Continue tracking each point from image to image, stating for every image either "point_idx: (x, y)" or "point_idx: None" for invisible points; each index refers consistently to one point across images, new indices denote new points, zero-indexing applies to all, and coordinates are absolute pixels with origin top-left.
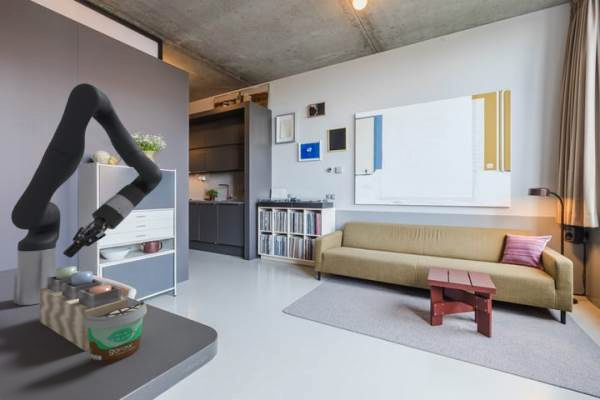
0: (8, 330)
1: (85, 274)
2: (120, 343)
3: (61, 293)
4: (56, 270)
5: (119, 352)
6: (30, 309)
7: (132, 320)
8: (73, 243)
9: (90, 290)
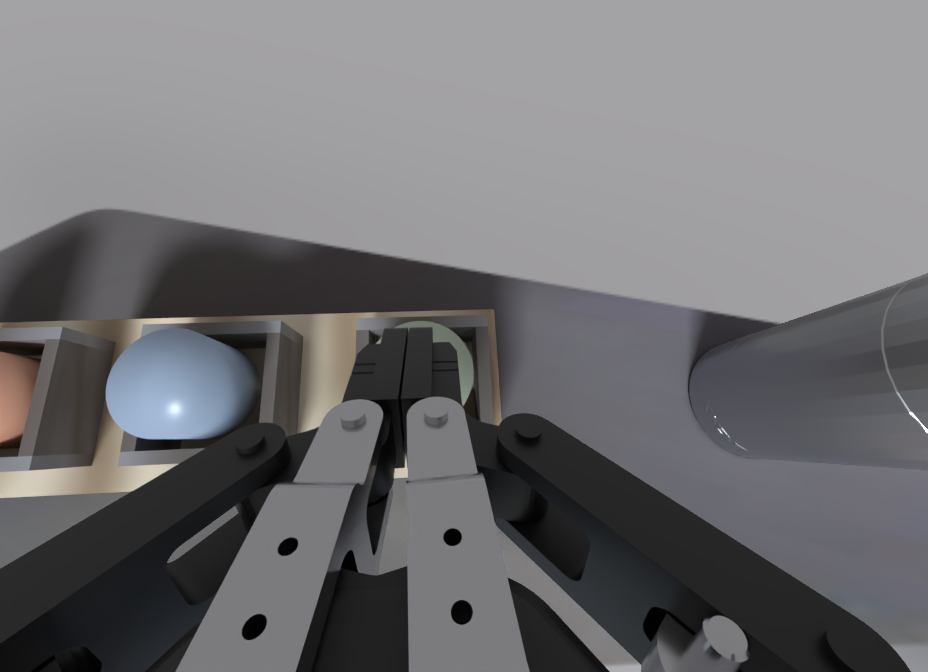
0: (474, 276)
1: (114, 382)
2: None
3: (332, 343)
4: (422, 322)
5: None
6: (640, 358)
7: None
8: (415, 393)
9: None
